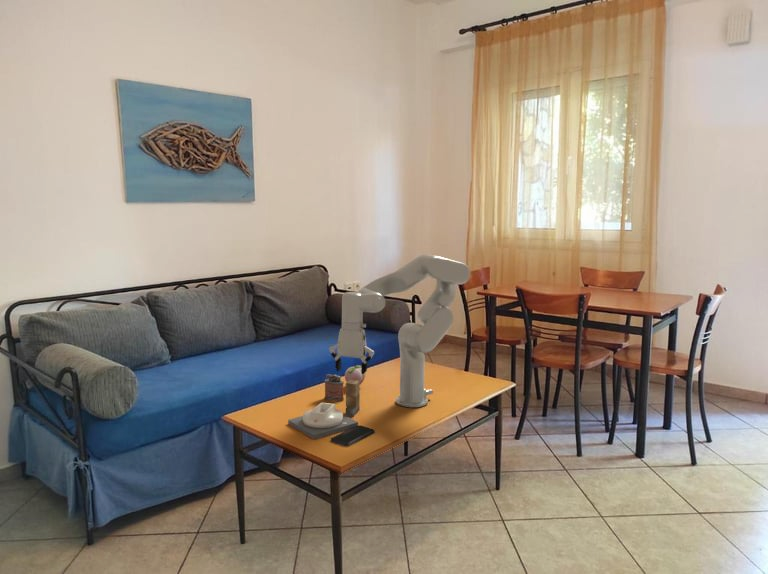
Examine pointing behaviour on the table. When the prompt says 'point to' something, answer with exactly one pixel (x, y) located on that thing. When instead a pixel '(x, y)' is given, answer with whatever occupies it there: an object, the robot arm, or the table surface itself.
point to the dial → (323, 416)
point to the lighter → (334, 388)
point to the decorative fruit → (354, 374)
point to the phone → (352, 435)
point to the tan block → (352, 397)
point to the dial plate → (321, 432)
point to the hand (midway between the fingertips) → (351, 371)
